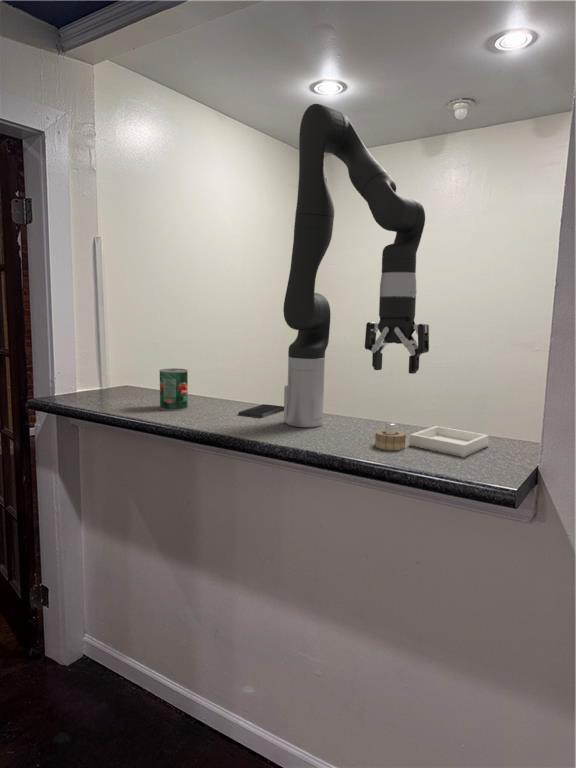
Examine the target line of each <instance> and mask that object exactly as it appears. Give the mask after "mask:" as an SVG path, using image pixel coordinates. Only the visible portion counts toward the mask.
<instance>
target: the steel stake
mask: <svg viewBox="0 0 576 768" xmlns="http://www.w3.org/2000/svg"><path fill="white" fill-rule="evenodd" d="M385 429H386V433H385V434H387V435H396V430H397V424H396V423H395V422H387V423H386V422H385Z"/></svg>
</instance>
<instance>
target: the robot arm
mask: <svg viewBox="0 0 576 768" xmlns="http://www.w3.org/2000/svg"><path fill="white" fill-rule="evenodd" d="M298 139H299V140H298V143H299V144H298V152H299V156H298V157H299V159H298V160H299V161H298V162H299V163H298V164H299V166H298V169H299V170H298V172H299V173H298V185H297V186H298V187H297V200H296V207H295V208H296V209H295V215H294V225H293V226H294V227H293V241H292V243H293V244H292V249H291V252H292V253H291V261H290V270H289V273H288V274H289V275H288V280H287V286H286V291H285V295H284V301H283V317H284V321H285V323H286V325H287V326H288V327H289V328H290V329H291V330H294V331H295V330H296V331H297V336H296V338H295V340H294V341H293V342H292V343H291V344H289V346H288V351H287V352H288V355H287V385H284V391H283V392H284V395H283V396H284V397H283V400H284V401H283V406H284V411H283V423H285V424H287V425H288V426H292V427H297V428H315V427H321V426H322V425H323V422H324V421H323V420H324V418H323V417H324V398H325V397H324V396H325V395H324V393H325V392H324V390H325V389H324V387H325V365H326V364H325V361H326V351H327V348H328V345H329V341H330V340H329V339H330V329H331V328H330V327H331V305H330V303H329V301H328V299H327V298H326V297H325V295H323V294H321V293H318V292H315V288H316V279H317V274H318V270H319V267H320V265H321V262H322V261H323V259H324V257H325V255H326V252H327V250H328V248H329V246H330V244H331V240H332V238H333V237H332V236H333V231H334V229H333V228H334V220H335V207H334V201H333V199H332V195H331V191H330V189H329V186H328V183H327V180H326V175H325V169H324V168H325V167H324V163H325V161H324V159H325V153H327V154H332V155H333V156H334V157H336V158H338V160H340V161H342V162H343V164H344V165H345V166H346V167H347V172H348V177H349V180H350V182H351V184H352V186H353V187H354V188H355V190H356V191H357V192H358V194H360V196H361V197H362V198H363V200H364V201H365V202H366V203H367V206H368V208H369V210H370V213H371V215H372V217H373V219H374V221H375V222H376V223H377V225H378V226H380V227H381V228H382V229H384V230H386V231H389V232H396V233H395V237H394V241H393V243H390V244H386V245H385V246H384V247H383V249H382V255H381V276H380V283H379V306H378V316H379V321H378V323H377V322H376V321H368V322H367V323H366V324H365V337H364V349H365V350H369V351H370V352H371V353H372V356H371V357H372V360H371V361H372V363H371V364H372V365H371V366H372V368H373V370H374V371H381V370H382V369H383V350H384V349H385V347H386V346H387V345H388V344H399V345H400V344H402V345H403V347H404V348H406V349H407V351H408V352H409V354H410V355H409V356H408V374H409V375H410V374H412V375H413V374H417V372H419V369H420V356H421V355H423V354H425V353H426V354H427V353H429V351H430V325H429V324H428V323H419V324H416V322H415V319H416V318H415V317H416V305H417V304H416V301H417V275H416V273H417V252H418V249H419V246H420V243H421V239H422V237H423V236H422V235H423V231H424V228H425V225H426V213H425V209H424V206H423V204H422V203H421V202H420V201H419V200H417V199H415V198H411V197H408V196H402V195H399V194H397V185H396V182H395V180H394V179H393V177H392V176H391V175H390V174H389V173H388V172H387V171H386V170H385V169H384V167H383V166H382V165H381V164H380V163H379V162H378V161H377V160H376V159H375V158H374V156H373V155H372V154H371V152H370V151H369V150H368V148H367V147H366V146H365V144H364V142H363V141H362V139H361V138H360V136H359V134H358V132H357V131H356V128H355V127H354V125H353V124H352V122H351V120H350V119H349V117H347V115H346V114H345V113H344V112H341V111H338V110H336V109H333V108H331V107H328V106H327V105H323V104H319V103H313V104H311V105H309V106H308V107H307V108H306V109H305V111H304V113H303V114H302V117H301V122H300V126H299V138H298ZM378 331H379V332H380V334H379V336H378V337H377V333H378ZM414 332H415V333H416V334H417V340H416V338H415V337H414V335H413V334H414Z"/></svg>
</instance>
